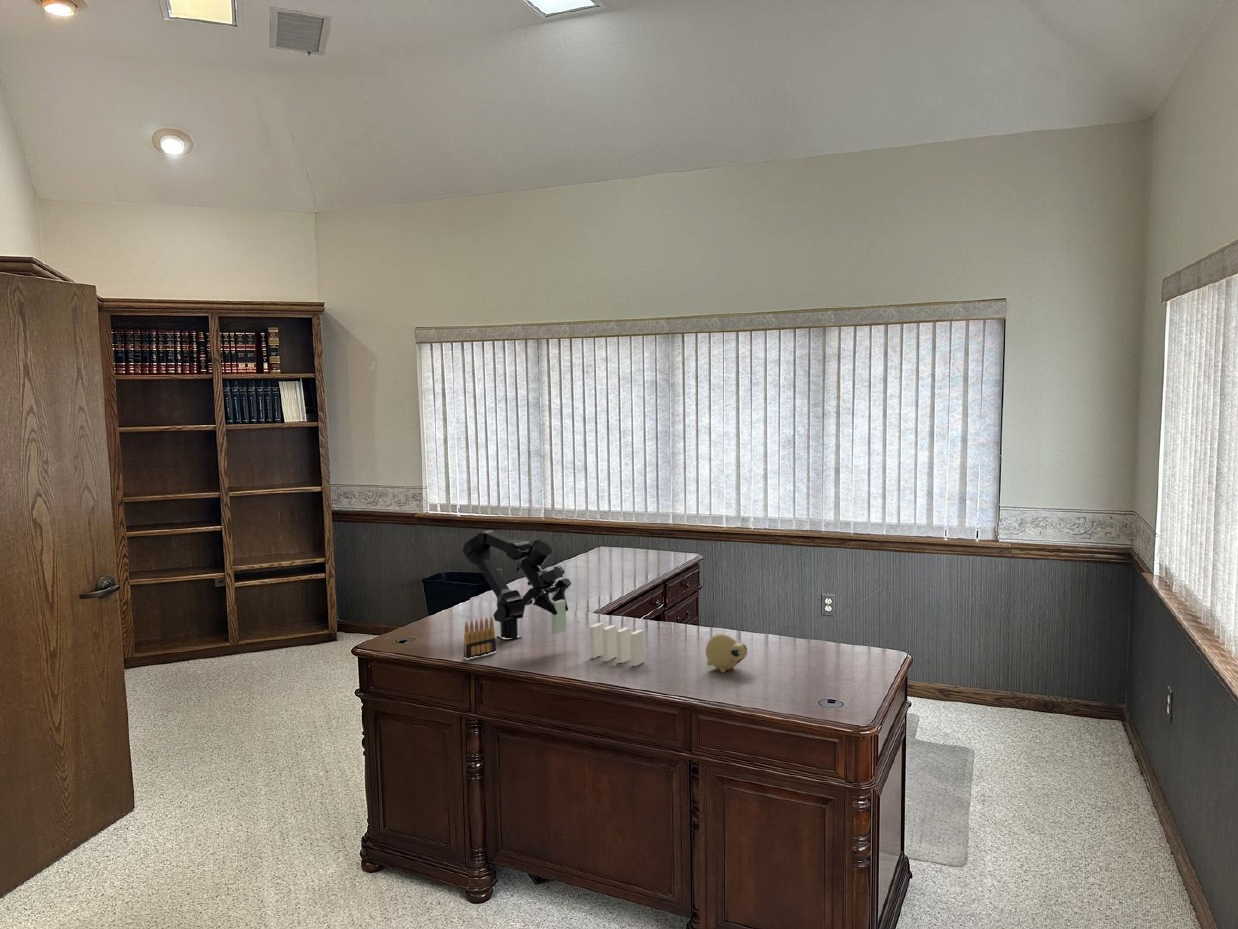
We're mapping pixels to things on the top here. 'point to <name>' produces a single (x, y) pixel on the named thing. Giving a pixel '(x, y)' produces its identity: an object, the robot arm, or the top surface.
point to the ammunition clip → (479, 639)
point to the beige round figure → (724, 652)
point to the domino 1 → (559, 617)
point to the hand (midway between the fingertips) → (562, 612)
